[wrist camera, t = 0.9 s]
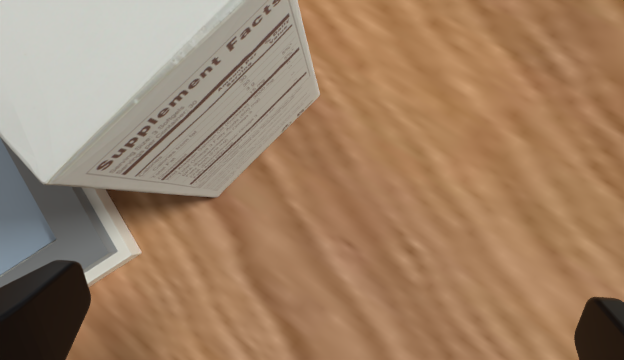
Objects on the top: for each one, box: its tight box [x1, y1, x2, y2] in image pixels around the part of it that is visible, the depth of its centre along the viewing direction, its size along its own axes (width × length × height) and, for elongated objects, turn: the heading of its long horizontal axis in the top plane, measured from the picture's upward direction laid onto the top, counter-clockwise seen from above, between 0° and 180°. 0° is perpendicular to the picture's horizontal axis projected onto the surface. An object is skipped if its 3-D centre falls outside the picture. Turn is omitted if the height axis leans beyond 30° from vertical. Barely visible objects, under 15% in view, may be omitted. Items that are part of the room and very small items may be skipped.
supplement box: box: [0, 0, 320, 197], centre depth 16 cm, size 7×7×13 cm
